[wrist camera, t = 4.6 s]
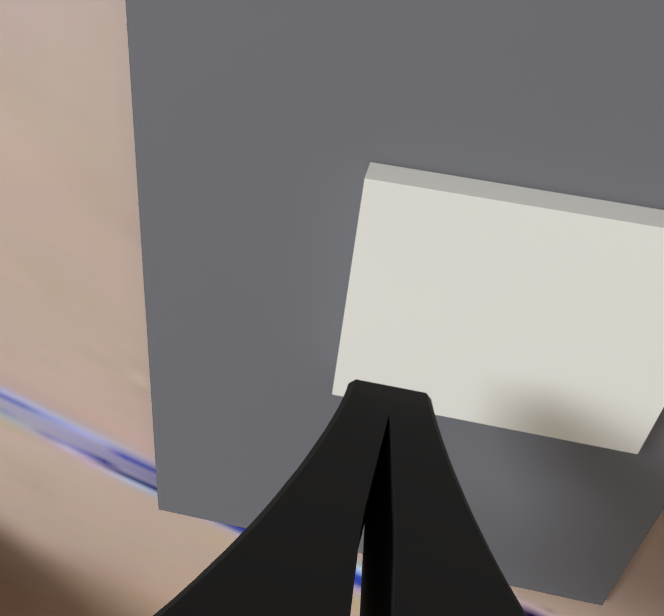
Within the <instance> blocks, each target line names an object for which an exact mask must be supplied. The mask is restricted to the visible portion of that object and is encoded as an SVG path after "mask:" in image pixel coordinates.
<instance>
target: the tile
mask: <svg viewBox="0 0 664 616" xmlns="http://www.w3.org/2000/svg"><path fill="white" fill-rule="evenodd" d="M356 379H357V380H362V381H367V382H372V383H378V384H383V385H388V386H393V387H398V388H403V389H409V390H414V391H419V392H424V393H427V394H428V396H429V397H430V399H431V401H432V405H433V409H434V413H435V415H440V416H445V417H450V418H455V419H460V420H465V421H470V422H475V423H480V424H486V425H491V426H496V427H501V428H506V429H511V430H516V431H521V432H526V433H531V434H537V435H542V436H547V437H552V438H557V439H562V440H567V441H572V442H577V443H582V444H588V445H593V446H598V447H603V448H608V449H613V450H618V451H623V452H628V453H633V454H638V453H639V451H640V449H641V447H642V445H643V444H644V442H645V440H646V438H647V436H648V435H649V433H650V431H651V429H652V427H653V426H654V424H655V422H656V420H657V418H658V417H659V415H660V413H661V411H662V409H663V408H664V210H660V209H654V208H648V207H642V206H636V205H630V204H624V203H617V202H611V201H605V200H599V199H593V198H587V197H581V196H575V195H569V194H563V193H556V192H550V191H544V190H538V189H532V188H526V187H520V186H514V185H508V184H502V183H495V182H489V181H483V180H477V179H471V178H465V177H459V176H453V175H447V174H441V173H434V172H428V171H422V170H416V169H410V168H404V167H398V166H392V165H386V164H380V163H373V162H370V164H369V167H368V170H367V173H366V175H365V178H364V185H363V192H362V198H361V205H360V211H359V218H358V225H357V231H356V238H355V245H354V251H353V258H352V265H351V271H350V278H349V284H348V291H347V298H346V304H345V311H344V318H343V324H342V331H341V338H340V344H339V351H338V357H337V364H336V371H335V377H334V384H333V391H332V394H333V395H338V396H344V394H345V392H346V389H347V386H348V383H350V382H352V381H354V380H356Z"/></svg>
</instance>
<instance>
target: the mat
mask: <svg viewBox="0 0 664 616" xmlns="http://www.w3.org/2000/svg"><path fill="white" fill-rule="evenodd" d="M126 15H127V30H128V46H129V61H130V77H131V92H132V107H133V123H134V138H135V153H136V169H137V184H138V199H139V215H140V230H141V245H142V261H143V276H144V291H145V307H146V322H147V337H148V353H149V368H150V383H151V399H152V414H153V429H154V445H155V460H156V475H157V491H158V506H159V509H160V510H164V511H169V512H174V513H178V514H183V515H187V516H192V517H197V518H201V519H206V520H210V521H215V522H220V523H224V524H229V525H234V526H238V527H243V528H247V527H248V526H249V525H250V524H251V523H252V522H253V521H254V520H255V519H256V517H257V516H258V515H259V514H260V513H261V512H262V511H263V510H264V508H265V507H266V506H267V505H268V504H269V503H270V502H271V500H272V499H273V498H274V497H275V496H276V494H277V493H278V492H279V491H280V489H281V488H282V487H283V486H284V484H285V483H286V482H287V481H288V479H289V478H290V477H291V476H292V475H293V473H294V472H295V471H296V470H297V468H298V467H299V466H300V464H301V463H302V462H303V460H304V459H305V458H306V456H307V455H308V453H309V452H310V450H311V449H312V448H313V446H314V445H315V443H316V442H317V440H318V439H319V437H320V436H321V435H322V433H323V432H324V430H325V429H326V427H327V425H328V424H329V422H330V420H331V419H332V417H333V415H334V414H335V412H336V410H337V408H338V407H339V405H340V403H341V401H342V399H343V396H338V395H333V394H332V391H333V384H334V377H335V371H336V364H337V357H338V351H339V344H340V338H341V331H342V324H343V318H344V311H345V304H346V298H347V291H348V284H349V278H350V271H351V265H352V258H353V251H354V245H355V238H356V231H357V225H358V218H359V211H360V205H361V198H362V192H363V185H364V178H365V175H366V173H367V170H368V167H369V164H370V162H373V163H380V164H386V165H392V166H398V167H404V168H410V169H416V170H422V171H428V172H434V173H441V174H447V175H453V176H459V177H465V178H471V179H477V180H483V181H489V182H495V183H502V184H508V185H514V186H520V187H526V188H532V189H538V190H544V191H550V192H556V193H563V194H569V195H575V196H581V197H587V198H593V199H599V200H605V201H611V202H617V203H624V204H630V205H636V206H642V207H648V208H654V209H660V210H664V0H126ZM435 417H436V420H437V424H438V427H439V430H440V433H441V436H442V439H443V442H444V445H445V448H446V450H447V453H448V456H449V459H450V461H451V464H452V466H453V469H454V471H455V474H456V476H457V479H458V481H459V483H460V486H461V488H462V491H463V493H464V495H465V498H466V500H467V502H468V505H469V507H470V509H471V511H472V513H473V516H474V518H475V520H476V522H477V524H478V526H479V528H480V530H481V532H482V534H483V536H484V538H485V540H486V542H487V544H488V546H489V549H490V551H491V552H492V554H493V556H494V558H495V560H496V562H497V564H498V566H499V568H500V570H501V571H502V573H503V575H504V577H505V579H506V581H507V582H508V584H509V585H511V586H515V587H520V588H524V589H529V590H534V591H538V592H543V593H547V594H552V595H557V596H561V597H566V598H571V599H575V600H580V601H584V602H589V603H594V604H598V605H603V603H604V601H605V600H606V598H607V597H608V595H609V594H610V592H611V590H612V589H613V587H614V586H615V584H616V582H617V581H618V579H619V578H620V576H621V575H622V573H623V571H624V570H625V568H626V567H627V565H628V563H629V562H630V560H631V559H632V557H633V556H634V554H635V552H636V551H637V549H638V548H639V546H640V544H641V543H642V541H643V540H644V538H645V537H646V535H647V533H648V532H649V530H650V529H651V527H652V526H653V524H654V522H655V521H656V519H657V518H658V516H659V514H660V513H661V511H662V510H663V508H664V408H663V409H662V411H661V413H660V415H659V417H658V418H657V420H656V422H655V424H654V426H653V427H652V429H651V431H650V433H649V435H648V436H647V438H646V440H645V442H644V444H643V445H642V447H641V449H640V451H639V453H638V454H633V453H628V452H623V451H618V450H613V449H608V448H603V447H598V446H593V445H588V444H582V443H577V442H572V441H567V440H562V439H557V438H552V437H547V436H542V435H537V434H531V433H526V432H521V431H516V430H511V429H506V428H501V427H496V426H491V425H486V424H480V423H475V422H470V421H465V420H460V419H455V418H450V417H445V416H440V415H435ZM363 541H364V528H363V532H362V536H361V540H360V544H359V549H358V553H363Z"/></svg>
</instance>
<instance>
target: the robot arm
mask: <svg viewBox="0 0 664 616" xmlns="http://www.w3.org/2000/svg"><path fill="white" fill-rule="evenodd" d="M363 528H364V541H363V562H362V583H361V604H360V616H527V615H526V614H525V612H524V610H523V608H522V607H521V605H520V603H519V601H518V600H517V598H516V596H515V595H514V593H513V591H512V589H511V588H510V586H509V584H508V582H507V581H506V579H505V577H504V575H503V573H502V571H501V570H500V568H499V566H498V564H497V562H496V560H495V558H494V556H493V554H492V552H491V551H490V549H489V546H488V544H487V542H486V540H485V538H484V536H483V534H482V532H481V530H480V528H479V526H478V524H477V522H476V520H475V518H474V516H473V513H472V511H471V509H470V507H469V505H468V502H467V500H466V498H465V495H464V493H463V491H462V488H461V486H460V483H459V481H458V479H457V476H456V474H455V471H454V469H453V466H452V464H451V461H450V459H449V456H448V453H447V450H446V448H445V445H444V442H443V439H442V436H441V433H440V430H439V427H438V424H437V420H436V417H435V413H434V409H433V405H432V401H431V399H430V397H429V396H428V394H427V393H424V392H419V391H414V390H409V389H403V388H398V387H393V386H388V385H383V384H378V383H372V382H367V381H362V380H357V379H356V380H354V381H352V382H350V383H348V386H347V389H346V392H345V394H344V396H343V399H342V401H341V403H340V405H339V407H338V408H337V410H336V412H335V414H334V415H333V417H332V419H331V420H330V422H329V424H328V425H327V427H326V429H325V430H324V432H323V433H322V435H321V436H320V437H319V439H318V440H317V442H316V443H315V445H314V446H313V448H312V449H311V450H310V452H309V453H308V455H307V456H306V458H305V459H304V460H303V462H302V463H301V464H300V466H299V467H298V468H297V470H296V471H295V472H294V473H293V475H292V476H291V477H290V478H289V479H288V481H287V482H286V483H285V484H284V486H283V487H282V488H281V489H280V491H279V492H278V493H277V494H276V496H275V497H274V498H273V499H272V500H271V502H270V503H269V504H268V505H267V506H266V507H265V508H264V510H263V511H262V512H261V513H260V514H259V515H258V516H257V517H256V519H255V520H254V521H253V522H252V523H251V524H250V525H249V526H248V527H247V528H246V529H245V530H244V531H243V532H242V533H241V534H240V536H239V537H238V538H237V539H236V540H235V541H234V542H233V543H232V544H231V545H230V546H229V547H228V548H227V549H226V550H225V551H224V552H223V553H222V554H221V555H220V556H219V557H218V558H217V559H215V560H214V561H213V562H212V563H211V564H210V565H209V566H208V567H207V568H206V569H205V570H204V571H203V572H202V573H201V574H200V575H199V576H198V577H197V578H196V579H195V580H194V581H192V582H191V583H190V584H189V585H188V586H187V587H186V588H185V589H184V590H182V591H181V592H180V593H179V594H178V595H177V596H176V597H175V598H174V599H172V600H171V601H170V602H169V603H168V604H167V605H165V606H164V607H163V608H162V609H161V610H159V611H158V612H157V613H156V614H154V615H153V616H350V612H351V604H352V595H353V587H354V579H355V571H356V563H357V554H358V549H359V544H360V540H361V536H362V532H363Z"/></svg>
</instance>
